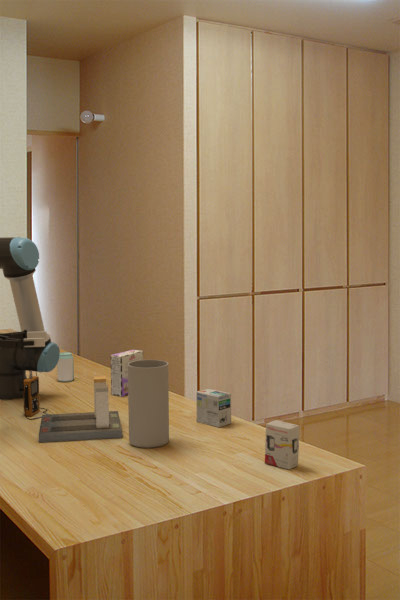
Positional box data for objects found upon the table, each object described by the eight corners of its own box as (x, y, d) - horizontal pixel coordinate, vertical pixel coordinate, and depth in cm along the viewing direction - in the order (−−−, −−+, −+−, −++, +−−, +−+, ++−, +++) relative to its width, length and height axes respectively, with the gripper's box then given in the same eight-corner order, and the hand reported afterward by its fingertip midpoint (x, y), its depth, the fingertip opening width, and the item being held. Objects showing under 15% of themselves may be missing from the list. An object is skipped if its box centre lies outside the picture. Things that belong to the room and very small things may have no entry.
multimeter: (45, 420, 242) (44, 364, 240) (19, 419, 244) (17, 363, 242) (62, 409, 256) (61, 356, 254) (37, 408, 258) (35, 355, 256)
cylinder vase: (138, 451, 210) (137, 369, 207) (123, 439, 221) (121, 362, 218) (175, 444, 215) (175, 365, 213) (159, 433, 226) (158, 358, 224)
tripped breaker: (94, 414, 239) (93, 376, 238) (106, 413, 240) (105, 376, 239) (94, 417, 236) (94, 379, 234) (106, 416, 236) (106, 378, 235)
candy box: (133, 388, 289) (132, 348, 287) (144, 390, 285) (143, 350, 283) (110, 394, 277) (109, 354, 276) (121, 397, 274) (120, 355, 272)
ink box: (263, 463, 199) (264, 423, 197) (273, 459, 202) (274, 419, 201) (289, 470, 193) (290, 429, 192) (299, 465, 197) (300, 425, 195)
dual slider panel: (42, 421, 241) (41, 377, 239) (118, 417, 245) (117, 374, 243) (38, 442, 218) (37, 393, 216) (122, 437, 223) (121, 389, 221)
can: (55, 382, 300) (54, 354, 298) (60, 378, 307) (60, 351, 305) (70, 382, 298) (69, 355, 297) (76, 379, 305) (75, 352, 304)
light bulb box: (232, 423, 238) (232, 392, 236) (218, 428, 233) (218, 396, 232) (208, 417, 245) (208, 387, 244) (195, 421, 240) (195, 391, 239)
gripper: (-27, 335, 215) (43, 333, 219) (-16, 324, 240) (47, 322, 243) (-26, 359, 216) (44, 357, 220) (-16, 345, 241) (47, 343, 244)
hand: (45, 338), depth 232 cm, fingers open, 13 cm apart
